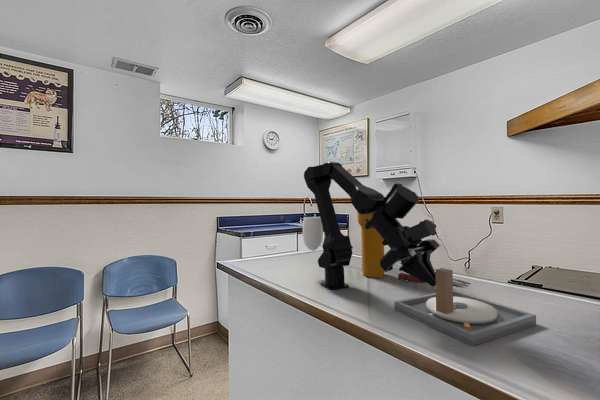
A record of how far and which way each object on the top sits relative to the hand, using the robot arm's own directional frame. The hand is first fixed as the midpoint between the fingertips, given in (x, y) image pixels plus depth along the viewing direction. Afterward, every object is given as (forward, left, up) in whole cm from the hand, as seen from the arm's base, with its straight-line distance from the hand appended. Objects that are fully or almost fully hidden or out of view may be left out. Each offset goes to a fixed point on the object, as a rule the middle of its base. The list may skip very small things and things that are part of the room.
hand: (436, 284), depth 65 cm
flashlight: (-37, +13, -8) cm, 40 cm away
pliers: (-22, +23, -8) cm, 33 cm away
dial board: (+1, +6, -8) cm, 10 cm away
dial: (+1, +6, -6) cm, 9 cm away
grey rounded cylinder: (-46, -6, -8) cm, 48 cm away
